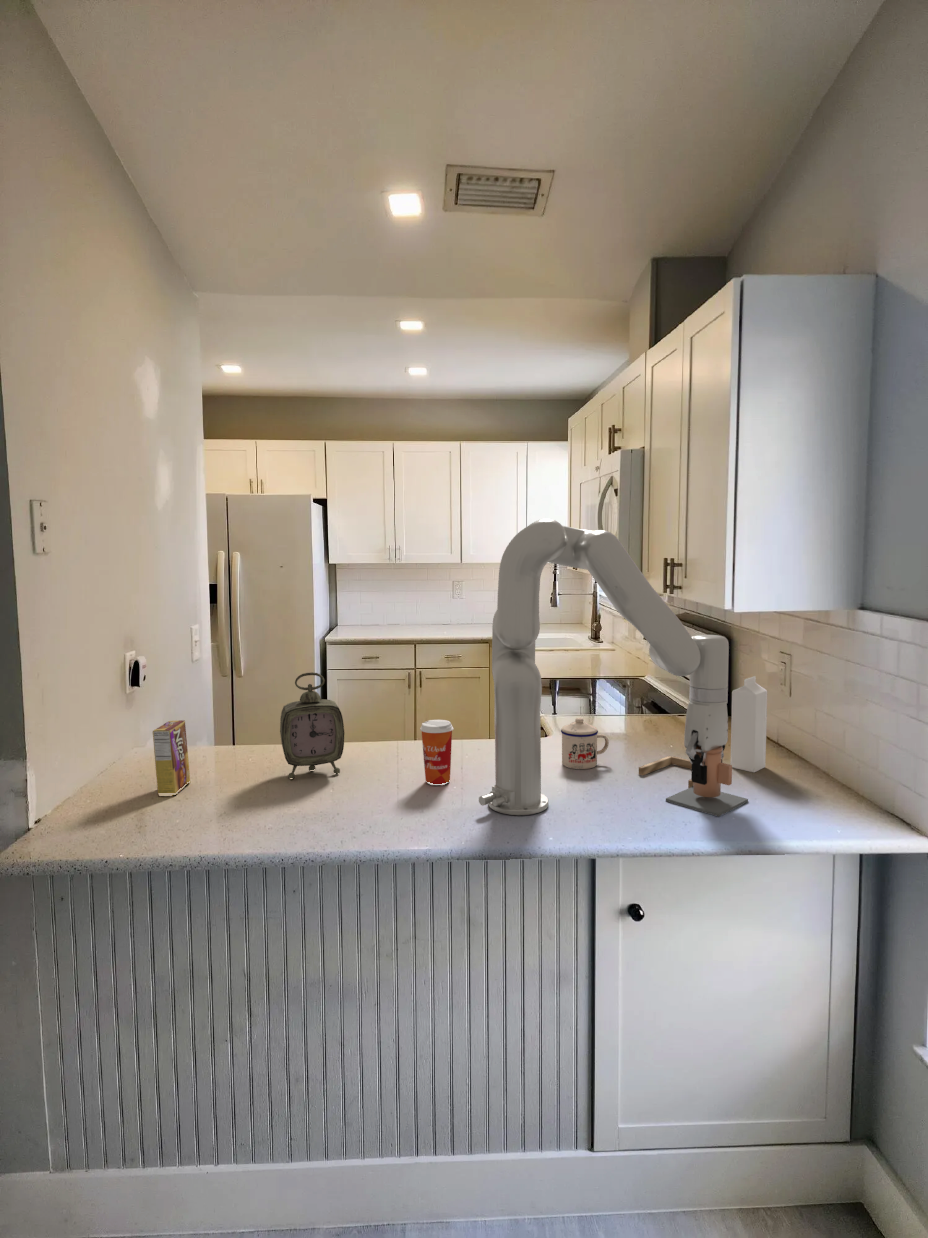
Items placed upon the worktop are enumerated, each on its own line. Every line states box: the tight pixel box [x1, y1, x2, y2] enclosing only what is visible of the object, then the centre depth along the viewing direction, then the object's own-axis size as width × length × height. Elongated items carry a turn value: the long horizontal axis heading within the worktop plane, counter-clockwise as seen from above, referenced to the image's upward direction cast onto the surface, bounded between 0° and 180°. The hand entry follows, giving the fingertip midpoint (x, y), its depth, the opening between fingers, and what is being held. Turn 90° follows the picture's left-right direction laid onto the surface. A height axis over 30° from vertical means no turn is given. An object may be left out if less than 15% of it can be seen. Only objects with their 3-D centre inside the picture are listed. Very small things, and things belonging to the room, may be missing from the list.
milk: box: [730, 675, 768, 773], centre depth 167 cm, size 6×6×22 cm
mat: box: [665, 787, 749, 817], centre depth 146 cm, size 12×12×1 cm
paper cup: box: [419, 719, 454, 784], centre depth 160 cm, size 8×8×14 cm
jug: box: [693, 746, 733, 797], centre depth 144 cm, size 8×6×10 cm
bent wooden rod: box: [638, 755, 694, 789], centre depth 163 cm, size 14×14×2 cm
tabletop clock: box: [279, 671, 345, 779], centre depth 167 cm, size 14×9×25 cm, turn 108°
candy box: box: [152, 719, 191, 794], centre depth 158 cm, size 9×4×15 cm, turn 0°
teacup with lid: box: [560, 717, 610, 770], centre depth 172 cm, size 12×9×12 cm
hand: (706, 778), depth 145 cm, fingers closed on jug, 5 cm apart
